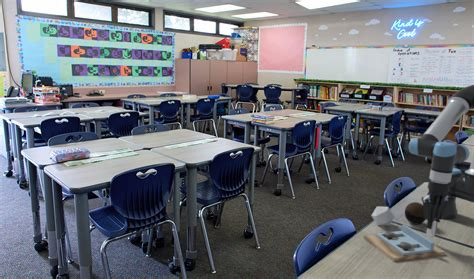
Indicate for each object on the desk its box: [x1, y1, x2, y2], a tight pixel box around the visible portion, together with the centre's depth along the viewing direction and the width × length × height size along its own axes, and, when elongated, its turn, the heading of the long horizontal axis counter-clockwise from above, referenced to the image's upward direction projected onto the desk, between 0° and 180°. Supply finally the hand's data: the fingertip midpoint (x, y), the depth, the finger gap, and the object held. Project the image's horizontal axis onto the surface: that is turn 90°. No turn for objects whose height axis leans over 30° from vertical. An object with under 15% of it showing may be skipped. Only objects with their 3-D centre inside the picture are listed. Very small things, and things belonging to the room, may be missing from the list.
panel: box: [375, 224, 435, 255], centre depth 144 cm, size 14×16×4 cm
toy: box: [404, 201, 426, 225], centre depth 166 cm, size 9×10×10 cm
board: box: [363, 231, 446, 262], centre depth 144 cm, size 24×18×4 cm
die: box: [371, 206, 396, 227], centre depth 164 cm, size 8×9×10 cm
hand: (430, 235), depth 148 cm, fingers closed
